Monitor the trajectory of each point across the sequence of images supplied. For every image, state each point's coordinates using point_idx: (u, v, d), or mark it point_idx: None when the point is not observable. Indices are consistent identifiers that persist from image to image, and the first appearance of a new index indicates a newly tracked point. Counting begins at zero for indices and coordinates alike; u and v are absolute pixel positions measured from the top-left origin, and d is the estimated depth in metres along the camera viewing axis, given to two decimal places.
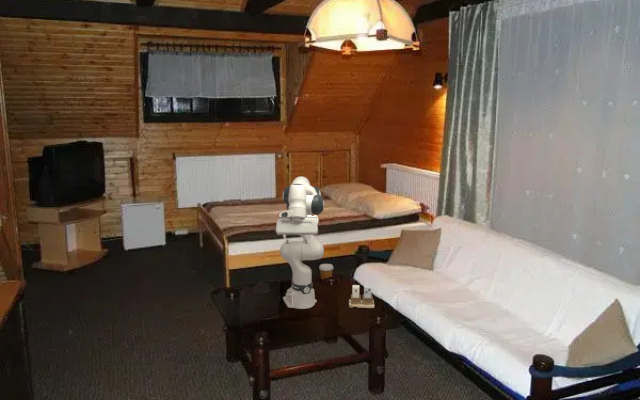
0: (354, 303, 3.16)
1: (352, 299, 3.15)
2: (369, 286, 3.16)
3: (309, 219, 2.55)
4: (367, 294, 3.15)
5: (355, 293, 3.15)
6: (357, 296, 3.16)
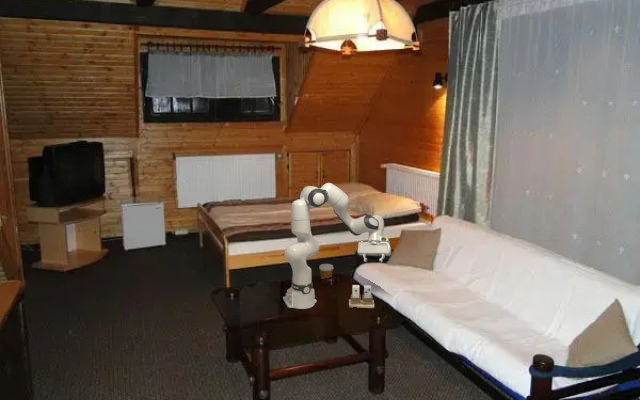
0: (354, 303, 3.16)
1: (352, 299, 3.15)
2: (369, 286, 3.16)
3: None
4: (367, 294, 3.15)
5: (355, 293, 3.15)
6: (357, 296, 3.16)
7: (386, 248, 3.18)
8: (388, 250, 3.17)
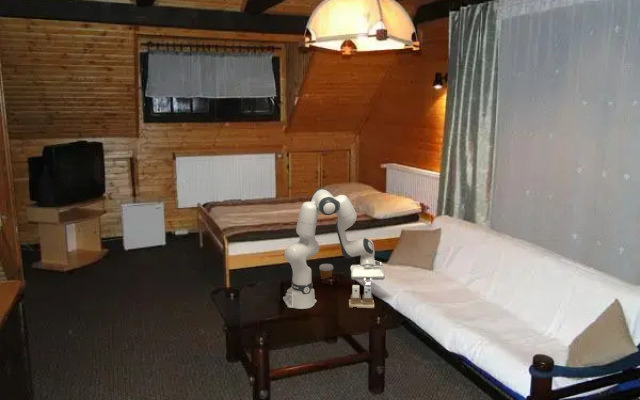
0: (354, 303, 3.16)
1: (352, 299, 3.15)
2: (369, 286, 3.16)
3: None
4: (367, 294, 3.15)
5: (355, 293, 3.15)
6: (357, 296, 3.16)
7: (381, 272, 3.18)
8: (383, 274, 3.18)
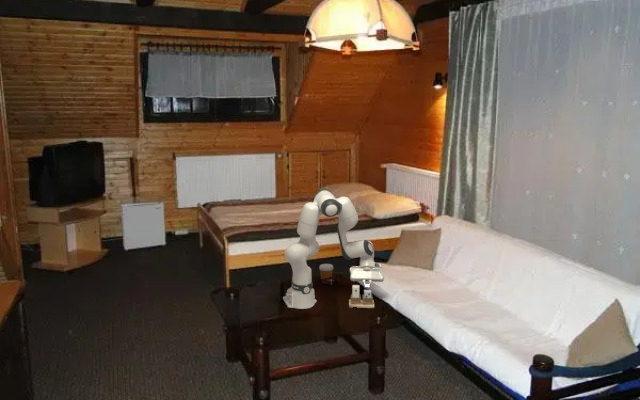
0: (354, 303, 3.16)
1: (352, 299, 3.15)
2: (369, 290, 3.17)
3: None
4: None
5: (355, 293, 3.15)
6: (357, 296, 3.16)
7: (380, 274, 3.19)
8: (382, 276, 3.18)
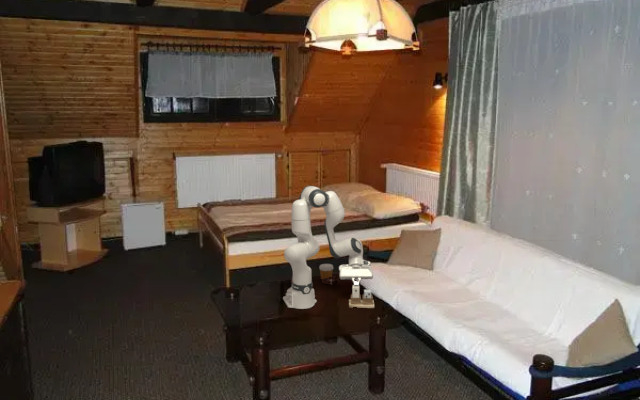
0: (354, 303, 3.16)
1: (352, 299, 3.15)
2: (369, 290, 3.17)
3: None
4: None
5: (355, 293, 3.15)
6: (357, 296, 3.16)
7: (369, 271, 3.19)
8: (371, 273, 3.18)
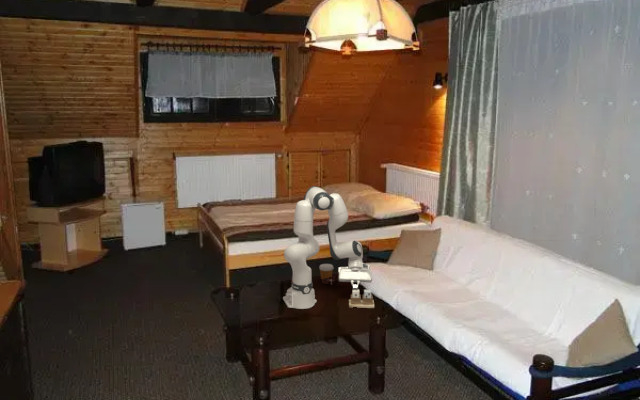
0: (354, 303, 3.16)
1: (352, 299, 3.15)
2: (369, 290, 3.17)
3: None
4: None
5: (355, 297, 3.16)
6: None
7: (368, 275, 3.20)
8: (370, 277, 3.19)
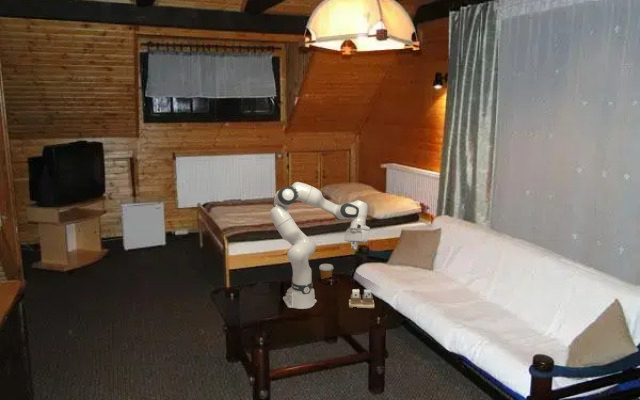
0: (354, 303, 3.16)
1: (352, 299, 3.15)
2: (369, 290, 3.17)
3: None
4: None
5: (355, 297, 3.16)
6: None
7: (361, 236, 3.18)
8: (361, 238, 3.17)
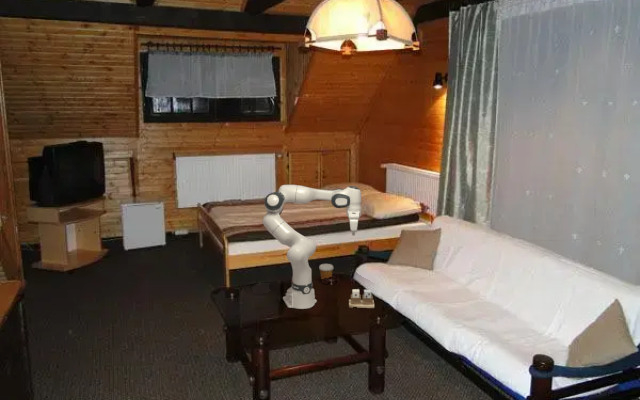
0: (354, 303, 3.16)
1: (352, 299, 3.15)
2: (369, 290, 3.17)
3: None
4: None
5: (355, 297, 3.16)
6: None
7: None
8: None
